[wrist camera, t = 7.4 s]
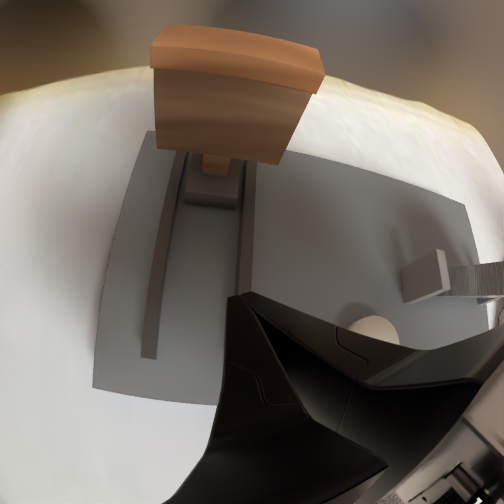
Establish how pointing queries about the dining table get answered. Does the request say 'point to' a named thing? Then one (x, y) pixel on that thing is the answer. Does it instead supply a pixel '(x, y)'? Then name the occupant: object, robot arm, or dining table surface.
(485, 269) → the light grey piece
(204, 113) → the walnut slider lever
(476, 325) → the control panel
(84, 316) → the dining table surface
